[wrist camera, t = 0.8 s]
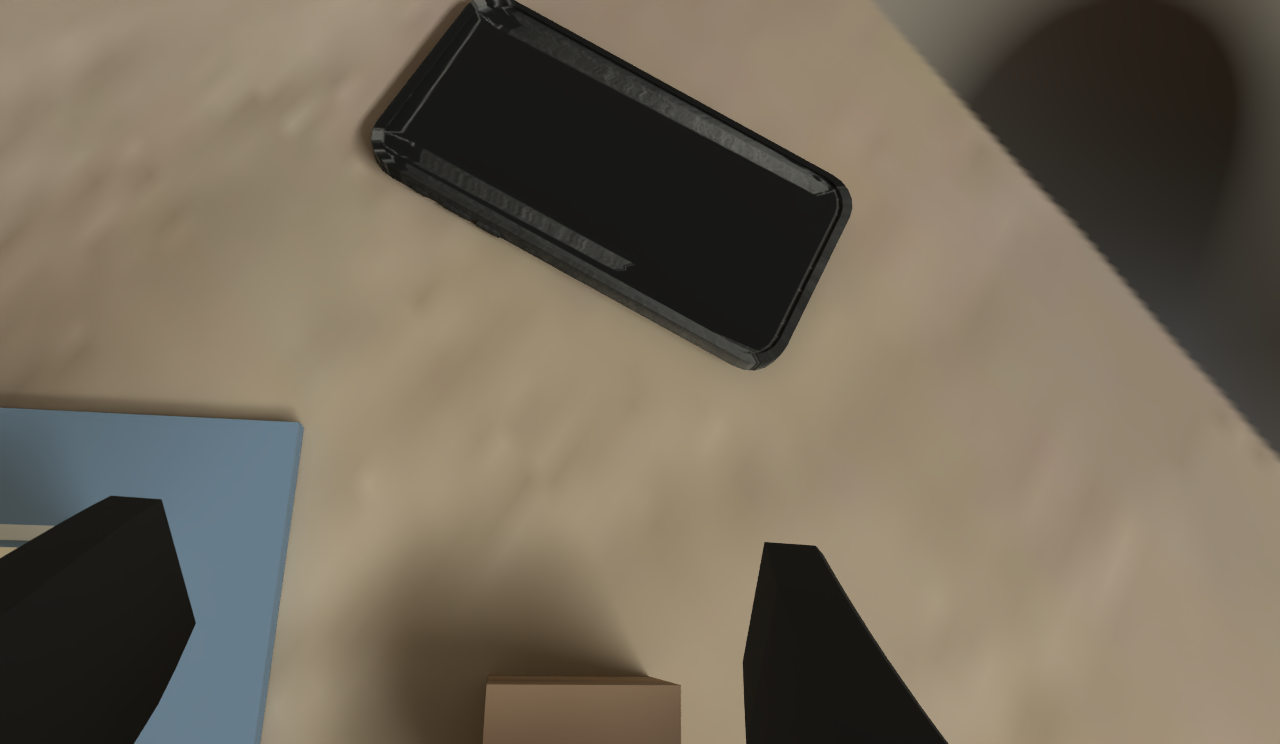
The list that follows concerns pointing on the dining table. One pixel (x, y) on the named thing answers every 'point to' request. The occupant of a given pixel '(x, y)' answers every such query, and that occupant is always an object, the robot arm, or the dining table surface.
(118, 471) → the board
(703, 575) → the dining table surface
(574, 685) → the walnut block
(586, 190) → the phone
